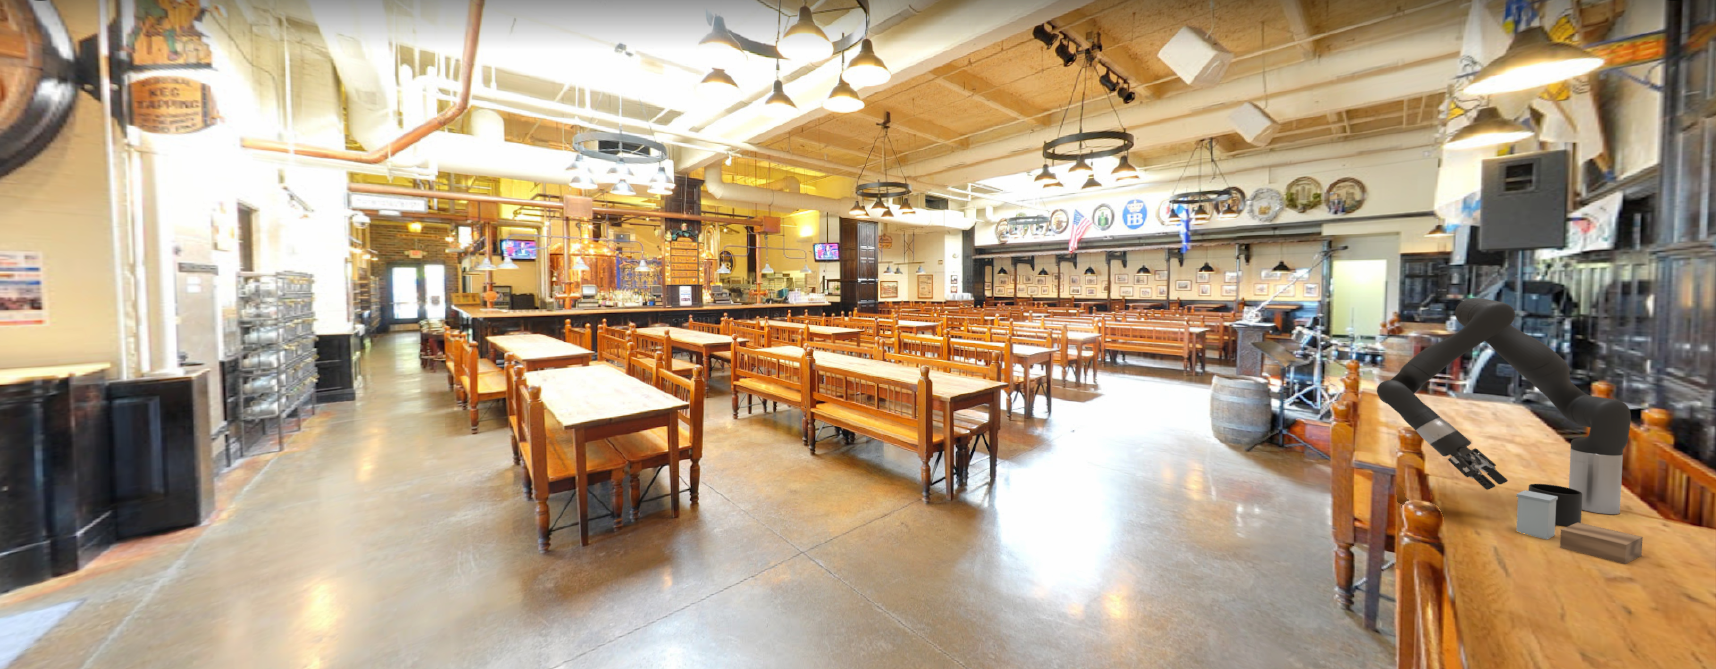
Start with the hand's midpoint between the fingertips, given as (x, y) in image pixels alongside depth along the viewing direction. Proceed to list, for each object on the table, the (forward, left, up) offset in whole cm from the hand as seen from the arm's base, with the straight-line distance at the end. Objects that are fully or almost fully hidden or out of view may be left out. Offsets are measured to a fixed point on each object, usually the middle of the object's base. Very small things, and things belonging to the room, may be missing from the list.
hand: (1498, 485), depth 155 cm
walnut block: (+2, +18, -11) cm, 22 cm away
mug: (-18, +6, -11) cm, 22 cm away
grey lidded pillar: (0, +7, -11) cm, 13 cm away
